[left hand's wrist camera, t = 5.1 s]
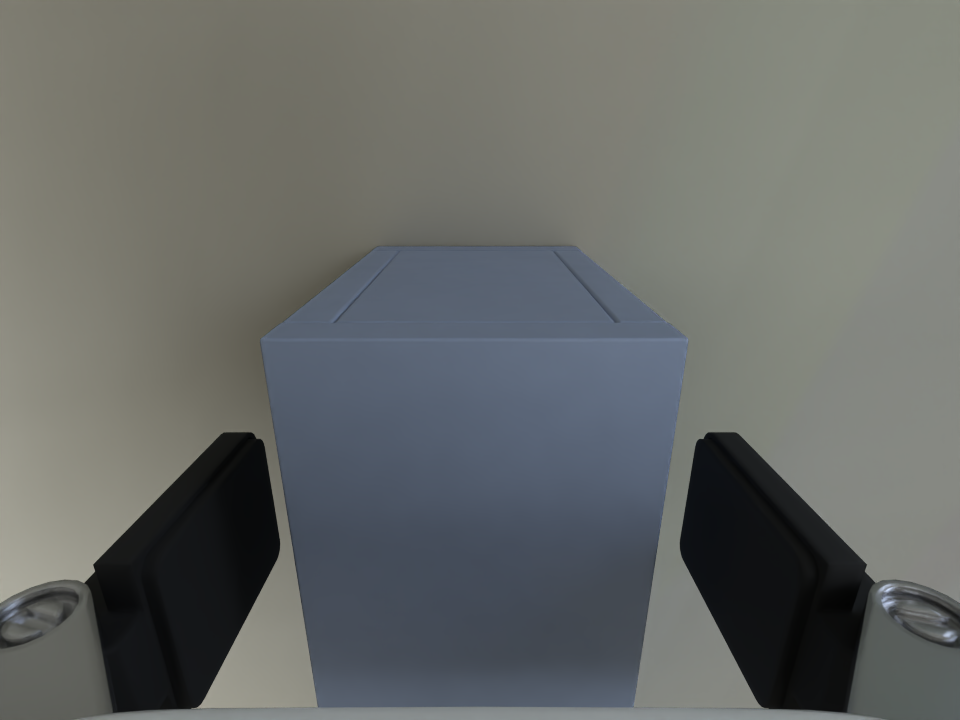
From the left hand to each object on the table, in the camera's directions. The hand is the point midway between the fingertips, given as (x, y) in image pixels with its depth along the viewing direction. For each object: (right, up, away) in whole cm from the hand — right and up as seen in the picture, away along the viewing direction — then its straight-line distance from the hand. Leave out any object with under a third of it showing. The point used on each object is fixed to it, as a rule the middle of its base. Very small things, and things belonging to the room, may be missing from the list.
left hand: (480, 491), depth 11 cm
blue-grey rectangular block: (0, -3, +8) cm, 9 cm away
